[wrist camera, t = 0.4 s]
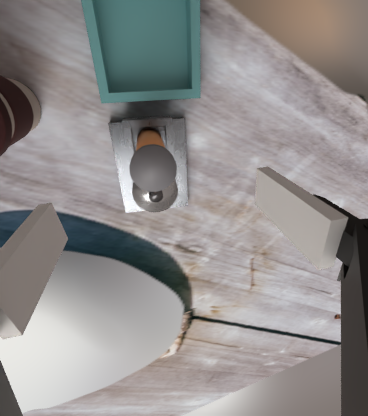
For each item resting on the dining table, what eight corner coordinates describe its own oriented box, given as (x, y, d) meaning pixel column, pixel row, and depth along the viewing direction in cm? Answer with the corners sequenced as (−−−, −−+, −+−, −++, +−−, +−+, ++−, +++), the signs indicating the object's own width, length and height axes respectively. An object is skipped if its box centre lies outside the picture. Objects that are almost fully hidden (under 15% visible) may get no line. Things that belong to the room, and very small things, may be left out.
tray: (105, 101, 34) (101, 103, 31) (81, -24, 28) (73, -40, 24) (194, 96, 36) (200, 97, 33) (193, -23, 29) (199, -37, 26)
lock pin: (136, 156, 38) (133, 193, 25) (131, 125, 35) (125, 148, 22) (165, 154, 38) (178, 189, 25) (163, 123, 36) (175, 144, 23)
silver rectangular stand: (126, 209, 44) (124, 222, 39) (108, 118, 35) (104, 122, 31) (186, 202, 45) (191, 214, 41) (183, 113, 37) (188, 117, 33)
